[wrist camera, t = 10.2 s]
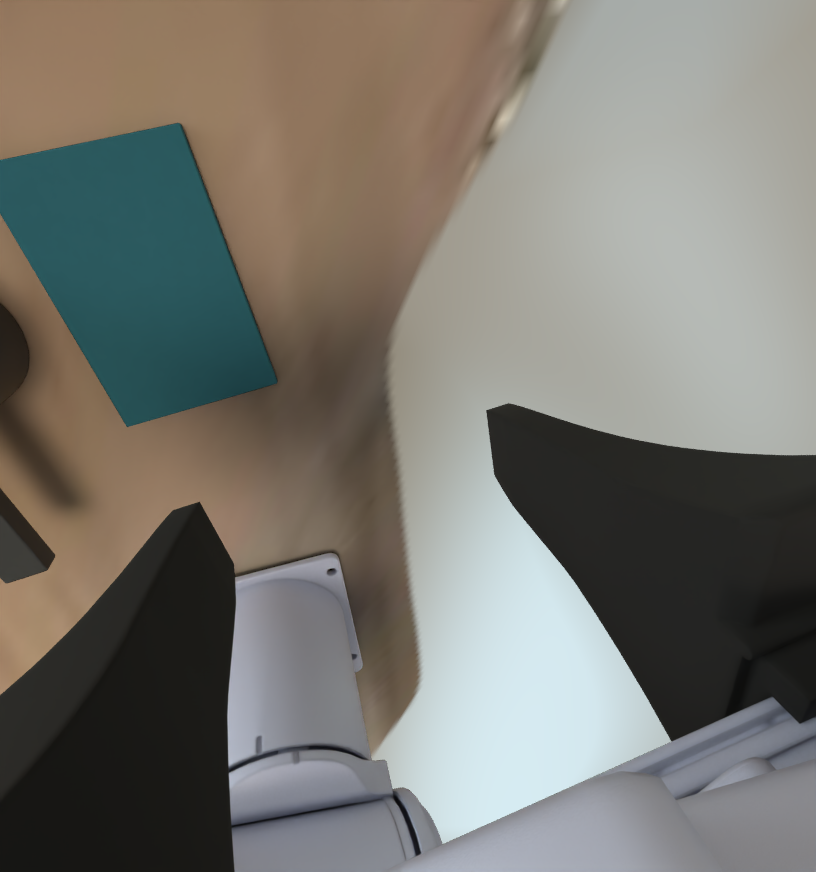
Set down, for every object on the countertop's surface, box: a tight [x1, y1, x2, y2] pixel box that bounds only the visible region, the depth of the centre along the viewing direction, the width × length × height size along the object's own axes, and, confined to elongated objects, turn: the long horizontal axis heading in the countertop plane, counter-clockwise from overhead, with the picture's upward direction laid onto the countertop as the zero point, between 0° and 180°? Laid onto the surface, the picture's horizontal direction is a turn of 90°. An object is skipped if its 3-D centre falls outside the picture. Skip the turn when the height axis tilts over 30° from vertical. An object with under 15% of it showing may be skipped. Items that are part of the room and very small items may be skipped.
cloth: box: [0, 123, 277, 427], centre depth 16 cm, size 6×9×1 cm, turn 12°
